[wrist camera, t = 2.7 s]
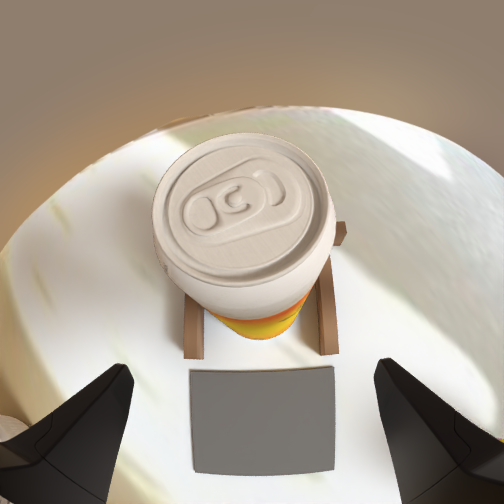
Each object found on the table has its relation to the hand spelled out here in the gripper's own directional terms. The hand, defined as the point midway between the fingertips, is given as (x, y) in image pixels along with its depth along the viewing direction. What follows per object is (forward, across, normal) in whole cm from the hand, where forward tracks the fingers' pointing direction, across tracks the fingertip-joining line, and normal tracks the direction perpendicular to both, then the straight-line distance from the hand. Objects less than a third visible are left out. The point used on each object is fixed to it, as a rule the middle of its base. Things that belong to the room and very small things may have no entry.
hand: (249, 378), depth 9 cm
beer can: (+12, 0, +5) cm, 13 cm away
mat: (+5, 0, +12) cm, 13 cm away
